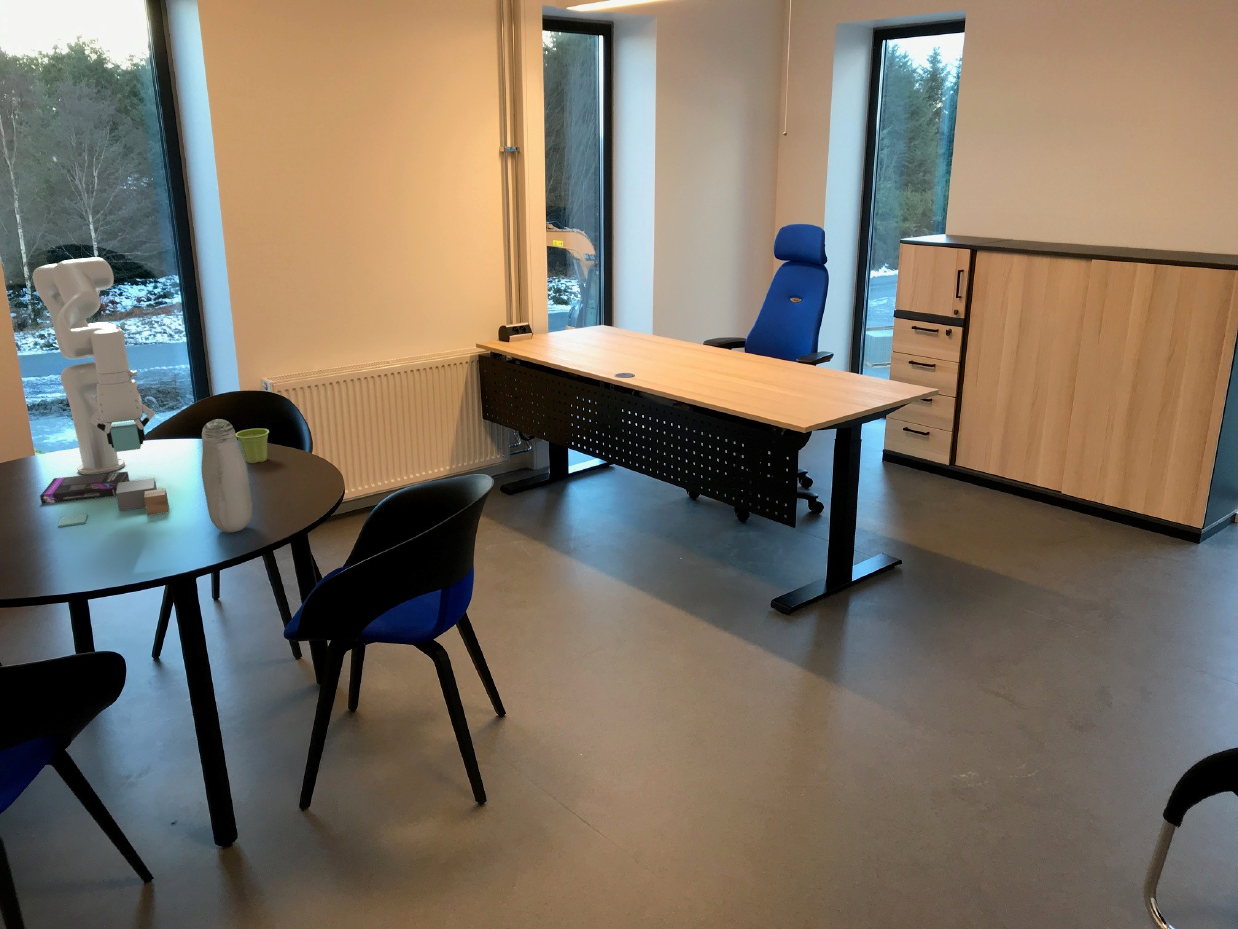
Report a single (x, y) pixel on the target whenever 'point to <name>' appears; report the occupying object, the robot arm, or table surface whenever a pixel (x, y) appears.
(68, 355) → the robot arm
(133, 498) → the grey square block
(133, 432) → the teal cube
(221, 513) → the white bottle
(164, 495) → the walnut cube
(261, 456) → the plant pot
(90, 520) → the table surface
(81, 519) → the tile
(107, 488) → the box
